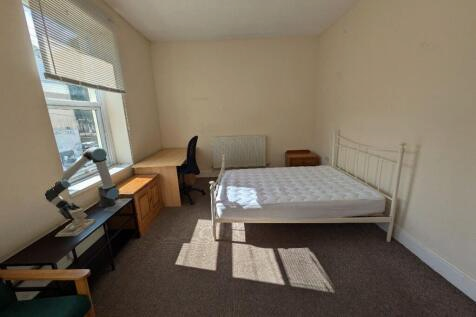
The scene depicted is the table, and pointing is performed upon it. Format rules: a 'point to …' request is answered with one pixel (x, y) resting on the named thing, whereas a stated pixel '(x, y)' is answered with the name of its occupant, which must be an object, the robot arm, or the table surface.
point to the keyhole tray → (75, 228)
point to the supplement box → (78, 216)
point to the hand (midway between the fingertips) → (82, 219)
